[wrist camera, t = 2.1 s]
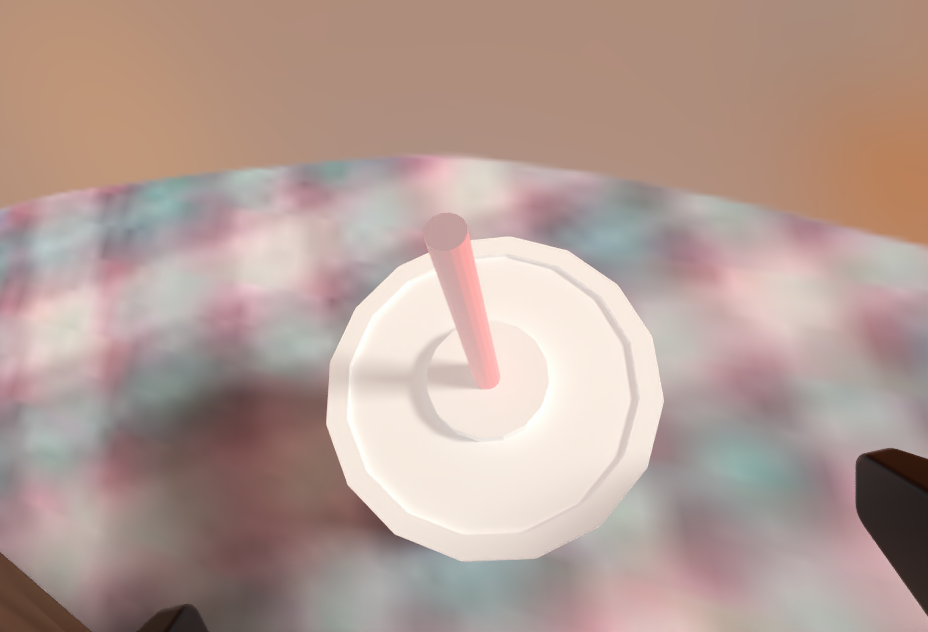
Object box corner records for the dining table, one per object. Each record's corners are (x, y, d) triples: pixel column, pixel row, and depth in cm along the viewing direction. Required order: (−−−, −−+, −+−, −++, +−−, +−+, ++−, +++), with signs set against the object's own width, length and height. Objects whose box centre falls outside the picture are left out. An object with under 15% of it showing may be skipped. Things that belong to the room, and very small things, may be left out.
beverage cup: (495, 618, 17) (348, 716, 5) (383, 449, 20) (87, 206, 7) (654, 488, 18) (905, 263, 5) (529, 342, 21) (500, -46, 8)
